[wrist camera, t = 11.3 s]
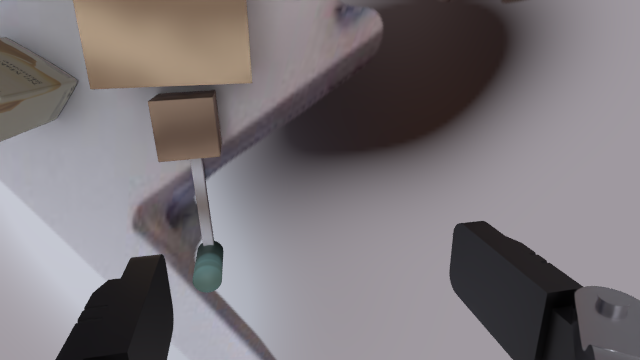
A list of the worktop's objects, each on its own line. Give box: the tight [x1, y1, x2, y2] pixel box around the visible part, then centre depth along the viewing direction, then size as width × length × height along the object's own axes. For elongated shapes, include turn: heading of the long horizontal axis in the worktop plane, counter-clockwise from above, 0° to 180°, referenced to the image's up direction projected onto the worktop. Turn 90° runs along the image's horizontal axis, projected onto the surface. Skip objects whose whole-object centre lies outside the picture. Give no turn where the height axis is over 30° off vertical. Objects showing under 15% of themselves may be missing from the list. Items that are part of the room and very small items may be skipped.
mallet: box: [148, 90, 223, 292], centre depth 38 cm, size 18×5×6 cm, turn 3°
